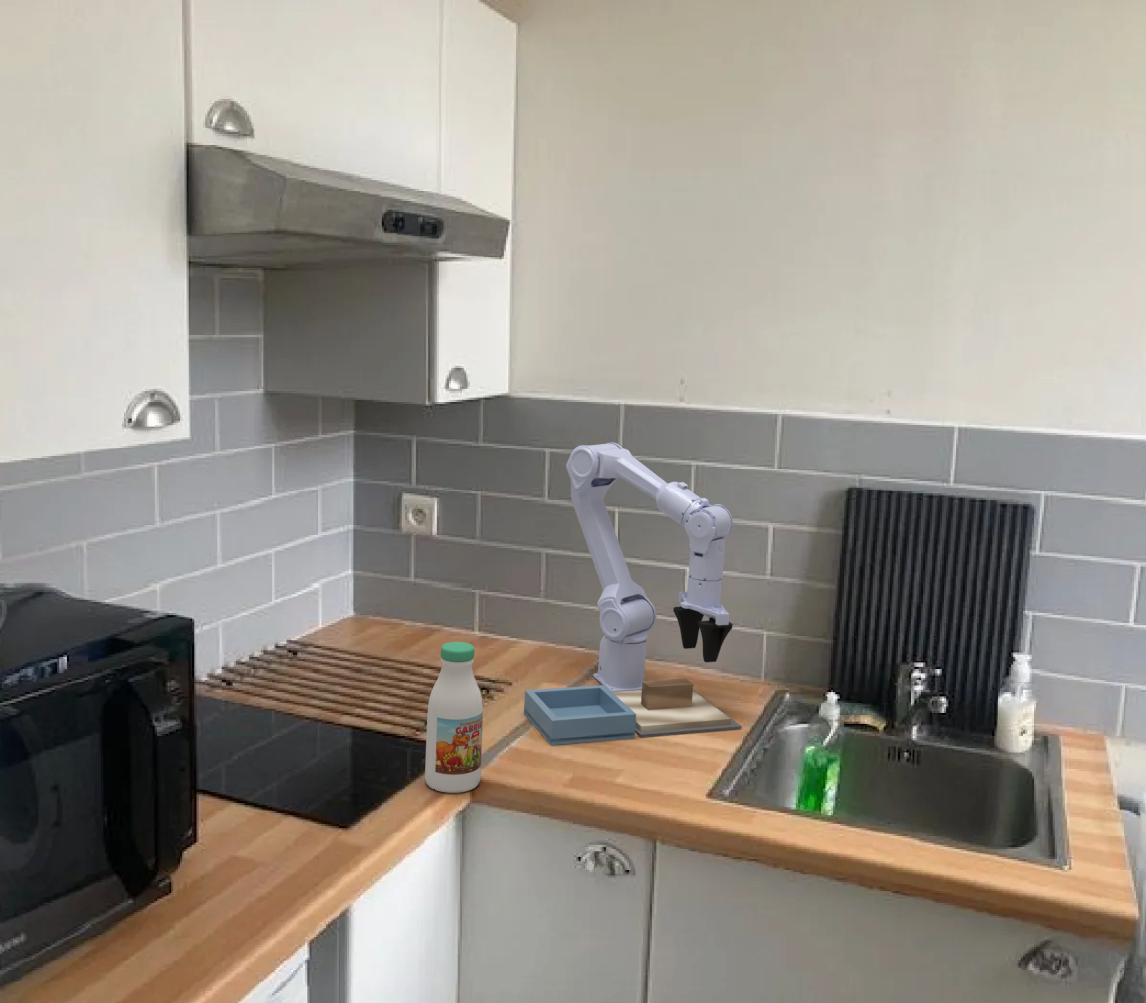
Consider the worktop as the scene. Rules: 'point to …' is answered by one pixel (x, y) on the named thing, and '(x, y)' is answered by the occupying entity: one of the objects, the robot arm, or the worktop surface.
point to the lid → (671, 706)
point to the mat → (690, 729)
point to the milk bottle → (454, 723)
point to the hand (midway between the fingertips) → (699, 654)
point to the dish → (579, 714)
